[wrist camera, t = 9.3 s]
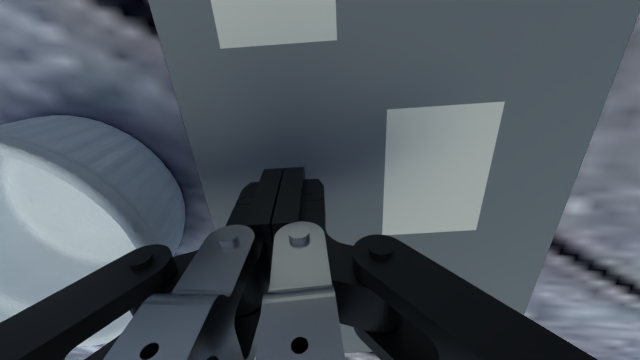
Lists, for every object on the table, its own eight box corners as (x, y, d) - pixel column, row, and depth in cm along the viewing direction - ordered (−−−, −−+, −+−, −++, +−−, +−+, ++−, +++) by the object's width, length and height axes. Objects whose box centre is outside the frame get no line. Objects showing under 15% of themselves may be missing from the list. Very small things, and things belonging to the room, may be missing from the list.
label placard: (90, -225, 8) (78, -238, 7) (737, -287, 7) (761, -305, 7) (252, 351, 19) (251, 357, 18) (508, 338, 18) (512, 345, 18)
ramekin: (-6, 234, 15) (-121, 311, 11) (-14, 58, 11) (-196, 78, 7) (176, 288, 16) (134, 370, 13) (223, 154, 13) (183, 211, 9)
